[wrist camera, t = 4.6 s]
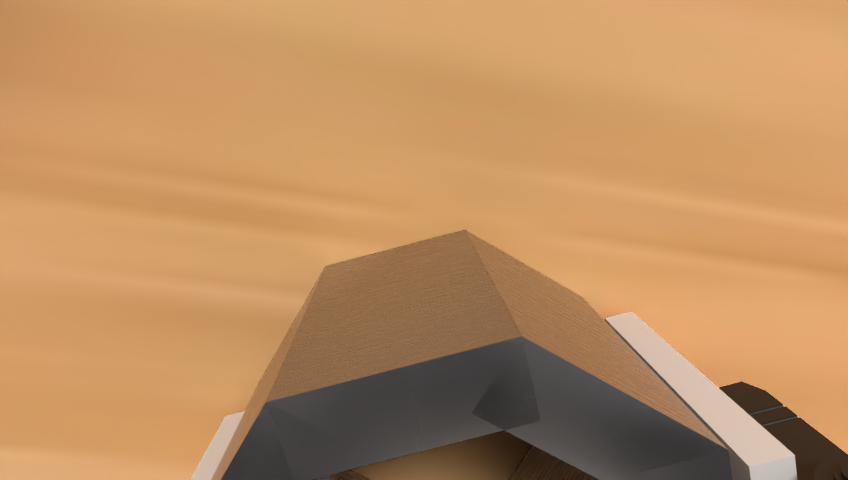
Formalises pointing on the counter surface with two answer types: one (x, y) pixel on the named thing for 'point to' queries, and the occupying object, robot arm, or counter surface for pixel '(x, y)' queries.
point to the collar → (461, 377)
